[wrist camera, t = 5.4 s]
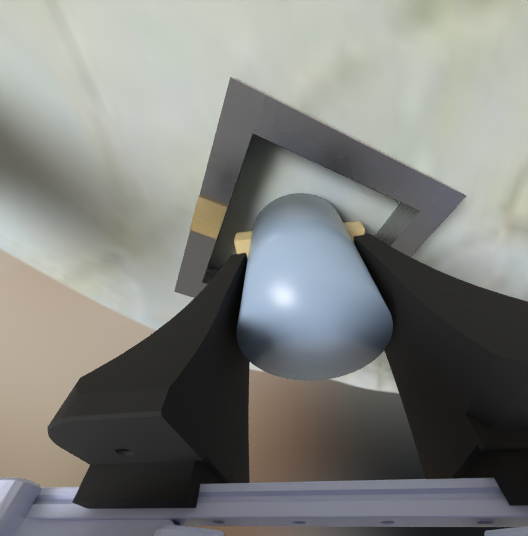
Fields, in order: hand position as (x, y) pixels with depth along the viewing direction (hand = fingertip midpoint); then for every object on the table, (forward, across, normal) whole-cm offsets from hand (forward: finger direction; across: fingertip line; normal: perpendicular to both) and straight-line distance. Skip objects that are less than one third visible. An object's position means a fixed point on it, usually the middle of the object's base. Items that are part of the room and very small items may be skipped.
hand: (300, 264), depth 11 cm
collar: (+3, 0, 0) cm, 3 cm away
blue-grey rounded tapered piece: (+2, 0, 0) cm, 2 cm away
